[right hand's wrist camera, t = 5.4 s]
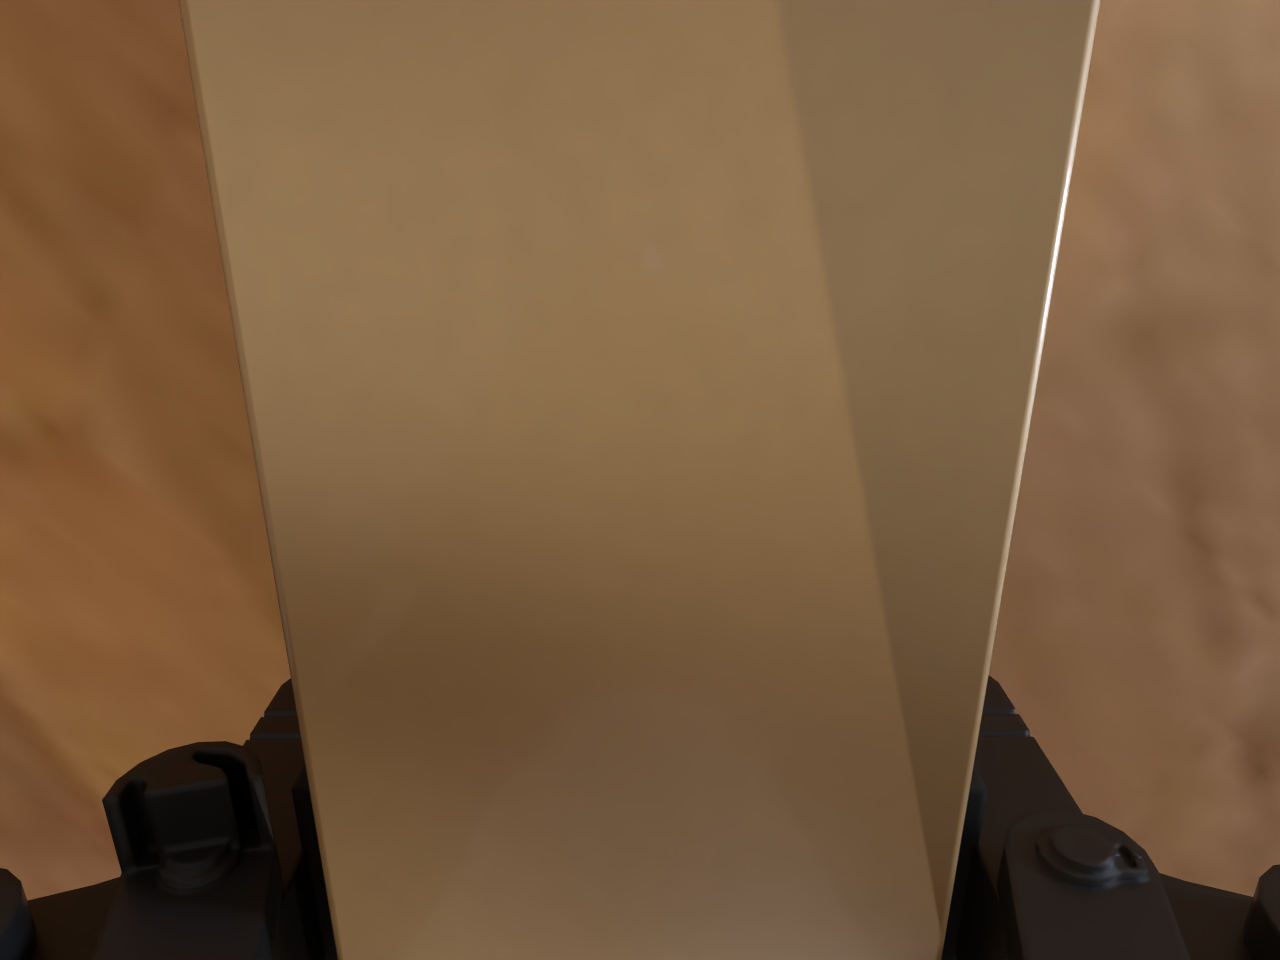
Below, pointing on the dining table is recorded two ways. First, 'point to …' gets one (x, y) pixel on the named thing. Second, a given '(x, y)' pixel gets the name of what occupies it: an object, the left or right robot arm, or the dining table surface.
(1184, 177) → the dining table surface
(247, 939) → the right robot arm
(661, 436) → the bar
